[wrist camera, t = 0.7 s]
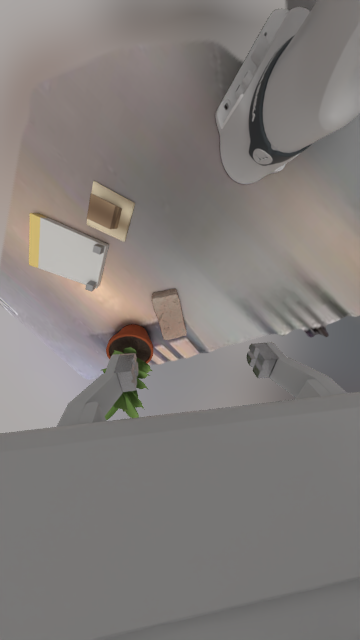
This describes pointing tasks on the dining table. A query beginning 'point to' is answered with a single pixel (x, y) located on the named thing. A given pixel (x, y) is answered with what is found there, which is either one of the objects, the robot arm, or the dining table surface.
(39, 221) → the dock
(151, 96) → the dining table surface
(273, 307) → the dining table surface
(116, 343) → the potted plant
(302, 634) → the robot arm
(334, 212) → the dining table surface
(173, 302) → the brick
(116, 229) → the wooden block on base
